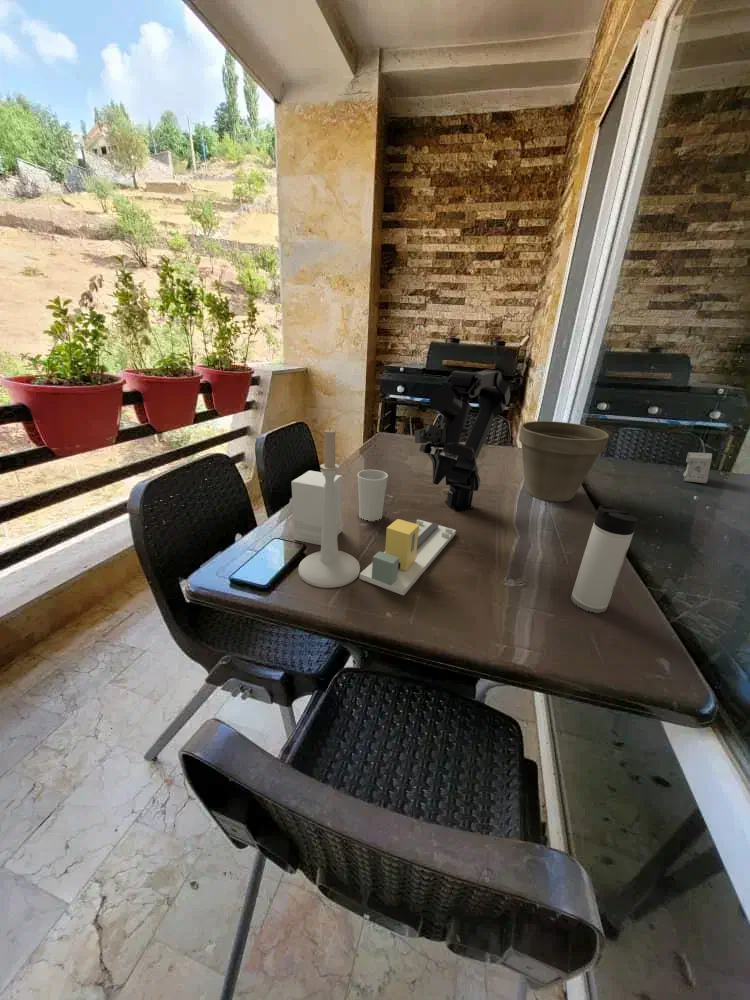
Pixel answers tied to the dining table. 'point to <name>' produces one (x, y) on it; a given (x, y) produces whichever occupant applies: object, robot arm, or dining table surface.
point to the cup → (371, 493)
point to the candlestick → (329, 534)
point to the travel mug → (603, 558)
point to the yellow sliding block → (402, 542)
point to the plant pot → (558, 457)
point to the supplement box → (313, 506)
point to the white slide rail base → (399, 581)
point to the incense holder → (697, 467)
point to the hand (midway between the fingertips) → (435, 484)
